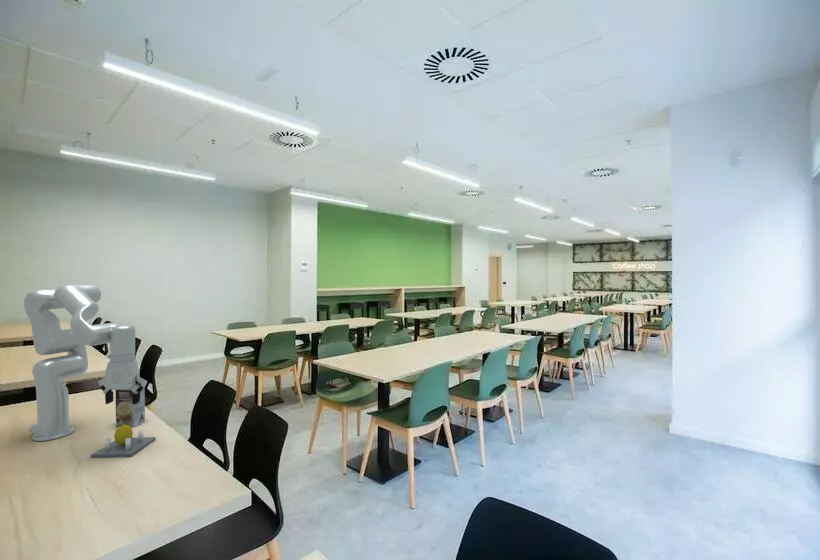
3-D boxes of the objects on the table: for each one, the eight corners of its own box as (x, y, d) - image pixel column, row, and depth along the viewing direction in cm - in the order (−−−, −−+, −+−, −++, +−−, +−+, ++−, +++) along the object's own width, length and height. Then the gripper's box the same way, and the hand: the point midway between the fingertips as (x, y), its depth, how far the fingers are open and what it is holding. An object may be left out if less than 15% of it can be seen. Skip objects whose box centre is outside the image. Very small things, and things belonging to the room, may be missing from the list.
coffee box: (114, 426, 165) (114, 389, 165) (127, 420, 172) (126, 385, 171) (134, 427, 164) (133, 390, 164) (146, 421, 171) (145, 385, 170)
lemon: (120, 442, 147) (120, 421, 147) (136, 441, 148) (135, 421, 147) (110, 449, 142) (110, 427, 141) (126, 448, 142) (126, 427, 142)
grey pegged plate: (91, 458, 137) (90, 443, 137) (119, 440, 151) (119, 427, 151) (131, 457, 138) (131, 442, 138) (155, 439, 152) (155, 427, 152)
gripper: (91, 360, 140) (91, 406, 140) (139, 360, 140) (139, 407, 141) (106, 355, 147) (106, 399, 148) (152, 356, 148) (152, 399, 149)
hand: (122, 403), depth 144 cm, fingers open, 9 cm apart
